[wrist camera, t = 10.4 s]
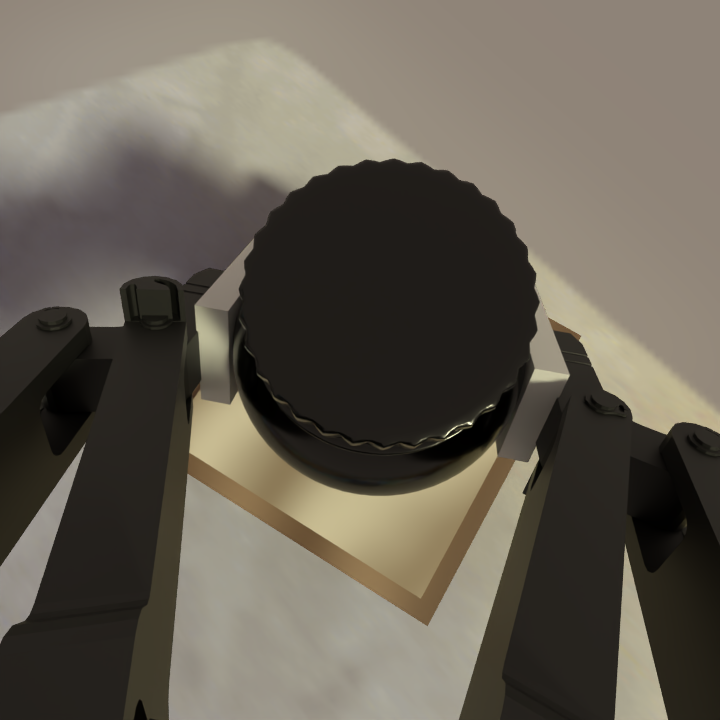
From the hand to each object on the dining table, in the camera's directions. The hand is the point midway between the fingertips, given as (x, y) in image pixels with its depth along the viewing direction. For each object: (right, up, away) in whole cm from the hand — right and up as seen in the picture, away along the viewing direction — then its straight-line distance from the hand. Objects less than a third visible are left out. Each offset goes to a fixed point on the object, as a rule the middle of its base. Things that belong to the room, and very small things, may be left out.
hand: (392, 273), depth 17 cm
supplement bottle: (-1, -4, +3) cm, 5 cm away
